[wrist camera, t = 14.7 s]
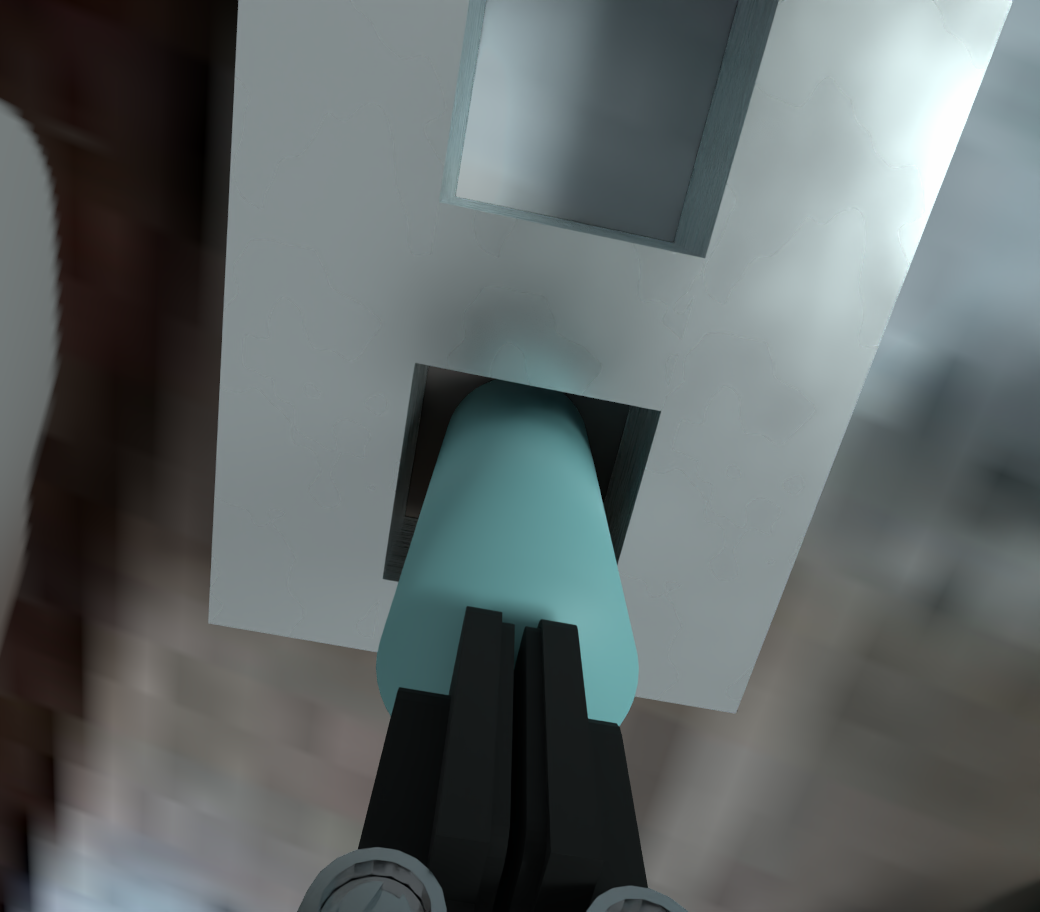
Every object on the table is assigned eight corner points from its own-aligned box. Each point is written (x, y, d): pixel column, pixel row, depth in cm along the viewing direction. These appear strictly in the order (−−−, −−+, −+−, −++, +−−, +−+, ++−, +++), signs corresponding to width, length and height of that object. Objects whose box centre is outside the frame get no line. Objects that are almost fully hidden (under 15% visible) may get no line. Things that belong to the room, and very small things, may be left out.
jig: (315, -242, 15) (255, -358, 12) (958, -84, 16) (1071, -150, 12) (256, 555, 22) (208, 623, 18) (705, 635, 23) (735, 713, 19)
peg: (458, 364, 20) (394, 537, 10) (602, 391, 20) (668, 586, 10) (435, 496, 21) (362, 754, 12) (570, 520, 21) (604, 793, 12)
